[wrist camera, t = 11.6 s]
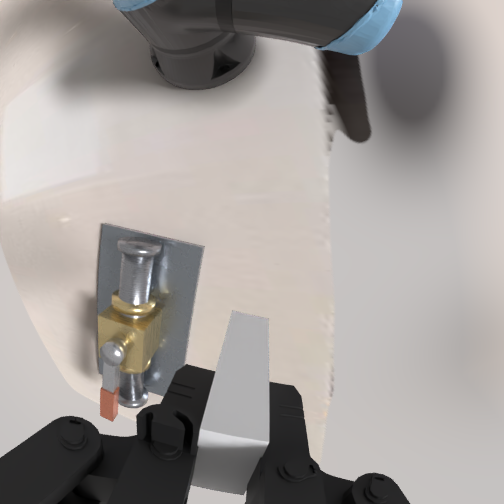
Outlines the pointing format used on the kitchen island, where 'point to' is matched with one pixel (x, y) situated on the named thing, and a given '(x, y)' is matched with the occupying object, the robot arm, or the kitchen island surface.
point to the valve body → (146, 307)
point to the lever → (111, 377)
